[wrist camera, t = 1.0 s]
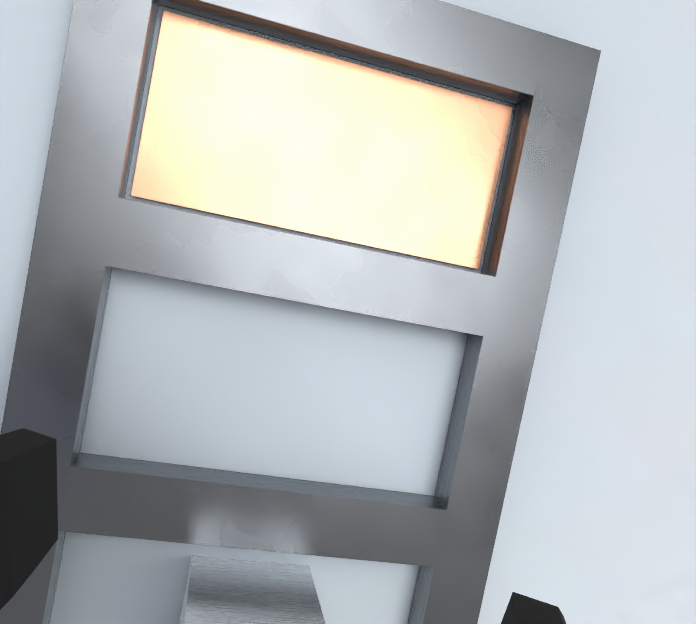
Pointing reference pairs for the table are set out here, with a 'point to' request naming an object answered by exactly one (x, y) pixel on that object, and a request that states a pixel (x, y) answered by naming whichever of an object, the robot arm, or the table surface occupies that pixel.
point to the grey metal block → (249, 593)
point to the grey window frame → (303, 249)
